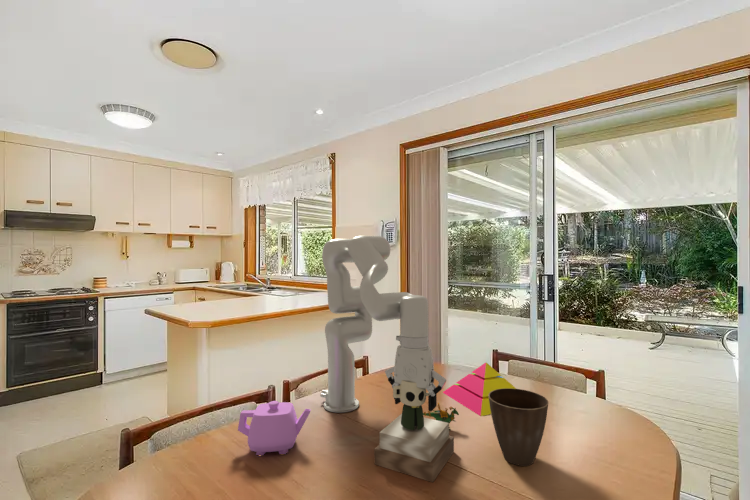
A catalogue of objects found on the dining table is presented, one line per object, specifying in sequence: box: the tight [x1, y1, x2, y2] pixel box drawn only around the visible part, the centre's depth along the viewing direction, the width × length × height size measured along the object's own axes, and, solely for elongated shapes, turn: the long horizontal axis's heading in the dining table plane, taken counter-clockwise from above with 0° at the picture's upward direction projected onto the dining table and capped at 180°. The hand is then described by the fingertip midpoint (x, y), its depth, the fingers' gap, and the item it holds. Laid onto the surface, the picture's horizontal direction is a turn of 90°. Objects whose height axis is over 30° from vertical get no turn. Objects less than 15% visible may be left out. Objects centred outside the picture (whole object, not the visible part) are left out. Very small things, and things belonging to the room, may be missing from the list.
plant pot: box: [488, 388, 549, 467], centre depth 100 cm, size 15×15×16 cm
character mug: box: [392, 380, 430, 430], centre depth 101 cm, size 11×7×13 cm, turn 101°
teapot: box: [237, 400, 312, 457], centre depth 107 cm, size 20×12×13 cm, turn 96°
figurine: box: [423, 402, 460, 431], centre depth 117 cm, size 3×12×8 cm, turn 92°
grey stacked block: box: [373, 413, 455, 483], centre depth 101 cm, size 16×16×8 cm
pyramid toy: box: [442, 362, 517, 417], centre depth 142 cm, size 25×25×14 cm
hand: (414, 405), depth 101 cm, fingers open, 9 cm apart
